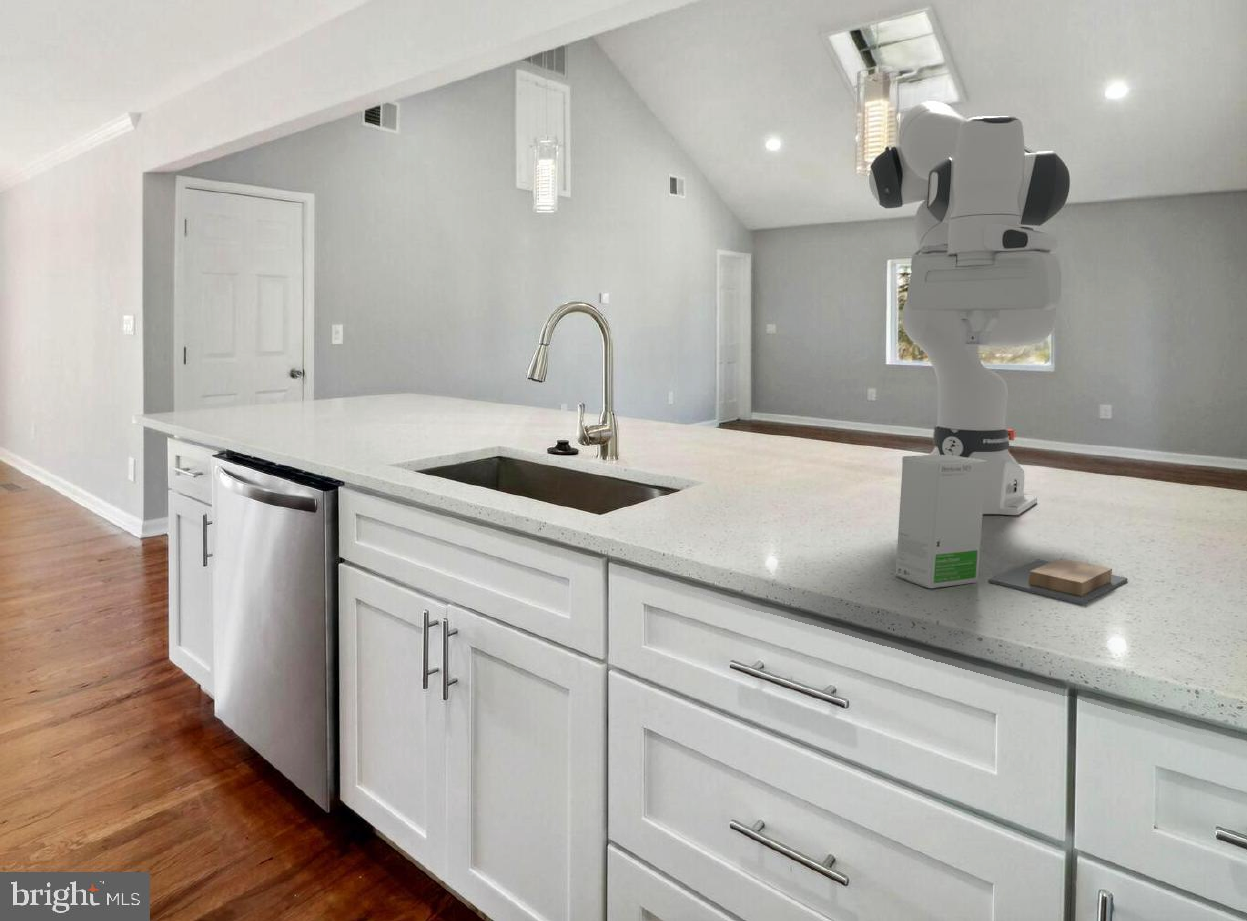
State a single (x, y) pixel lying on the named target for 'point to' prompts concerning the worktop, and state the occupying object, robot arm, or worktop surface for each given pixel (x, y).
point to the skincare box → (940, 520)
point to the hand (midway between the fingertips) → (975, 344)
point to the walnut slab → (1070, 576)
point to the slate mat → (1020, 581)
